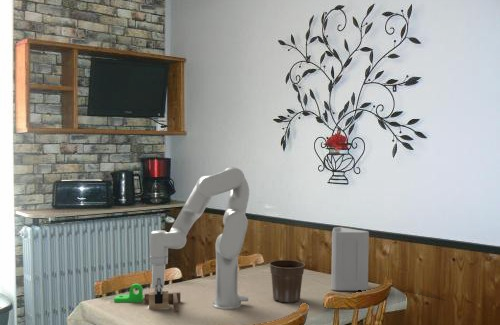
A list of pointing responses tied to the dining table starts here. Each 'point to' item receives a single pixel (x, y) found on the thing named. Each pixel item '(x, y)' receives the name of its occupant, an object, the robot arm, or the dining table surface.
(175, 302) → the arena
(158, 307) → the block
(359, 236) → the grey tall block
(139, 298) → the mechanical part
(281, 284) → the plant pot
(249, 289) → the dining table surface
